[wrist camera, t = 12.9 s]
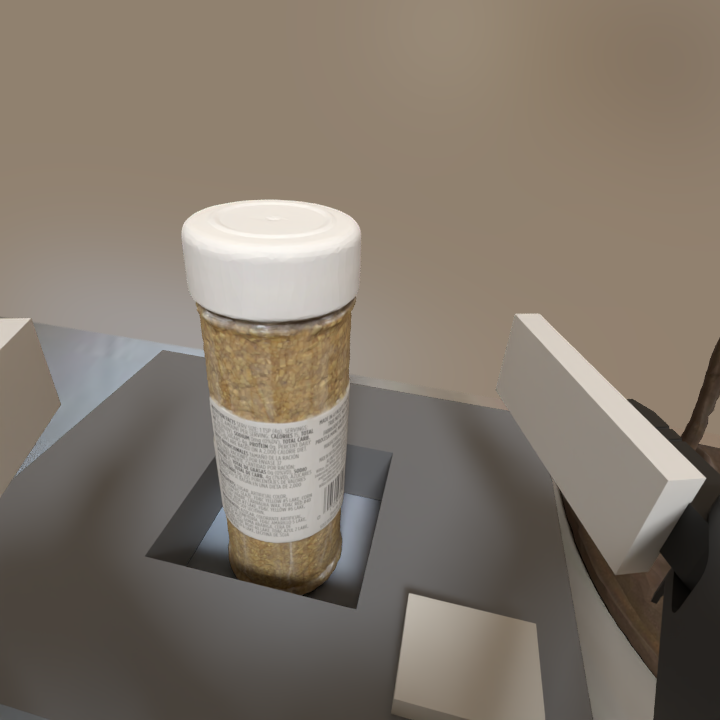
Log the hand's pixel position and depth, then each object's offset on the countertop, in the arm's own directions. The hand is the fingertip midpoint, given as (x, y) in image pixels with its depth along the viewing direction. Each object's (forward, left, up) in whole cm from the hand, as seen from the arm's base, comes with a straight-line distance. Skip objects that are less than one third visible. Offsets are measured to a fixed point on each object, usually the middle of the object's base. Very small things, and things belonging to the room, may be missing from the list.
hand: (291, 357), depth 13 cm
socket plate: (-1, +1, -10) cm, 10 cm away
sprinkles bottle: (-1, +1, -10) cm, 10 cm away
